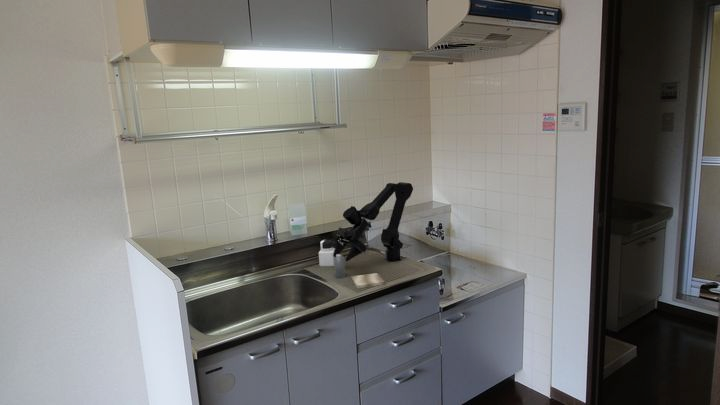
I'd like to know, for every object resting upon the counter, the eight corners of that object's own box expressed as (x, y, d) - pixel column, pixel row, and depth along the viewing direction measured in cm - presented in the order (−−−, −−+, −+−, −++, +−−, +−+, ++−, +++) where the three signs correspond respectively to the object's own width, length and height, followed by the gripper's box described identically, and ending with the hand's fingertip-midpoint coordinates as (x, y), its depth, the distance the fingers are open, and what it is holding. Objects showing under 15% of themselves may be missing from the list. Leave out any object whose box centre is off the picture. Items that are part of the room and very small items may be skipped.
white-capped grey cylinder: (341, 274, 215) (339, 252, 213) (347, 276, 211) (345, 254, 209) (333, 276, 212) (331, 255, 210) (339, 279, 209) (337, 257, 207)
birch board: (377, 275, 211) (376, 272, 210) (384, 284, 199) (384, 281, 199) (351, 279, 208) (351, 276, 208) (357, 288, 196) (357, 285, 196)
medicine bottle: (336, 261, 233) (334, 238, 231) (333, 266, 227) (332, 242, 224) (322, 261, 234) (320, 238, 232) (319, 266, 227) (317, 242, 225)
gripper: (335, 217, 218) (316, 245, 213) (360, 223, 203) (341, 253, 199) (349, 230, 224) (332, 258, 219) (374, 237, 210) (356, 266, 205)
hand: (339, 258), depth 210 cm, fingers open, 9 cm apart
